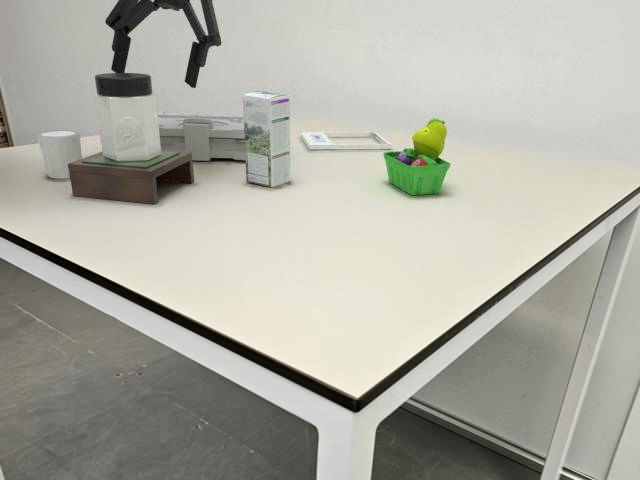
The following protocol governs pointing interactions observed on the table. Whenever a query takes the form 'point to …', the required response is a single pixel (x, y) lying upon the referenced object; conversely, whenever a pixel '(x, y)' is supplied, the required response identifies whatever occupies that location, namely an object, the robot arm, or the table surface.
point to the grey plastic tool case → (203, 134)
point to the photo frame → (323, 142)
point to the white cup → (59, 151)
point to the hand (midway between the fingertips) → (153, 79)
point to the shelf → (129, 176)
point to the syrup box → (267, 138)
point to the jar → (127, 117)
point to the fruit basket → (420, 161)
